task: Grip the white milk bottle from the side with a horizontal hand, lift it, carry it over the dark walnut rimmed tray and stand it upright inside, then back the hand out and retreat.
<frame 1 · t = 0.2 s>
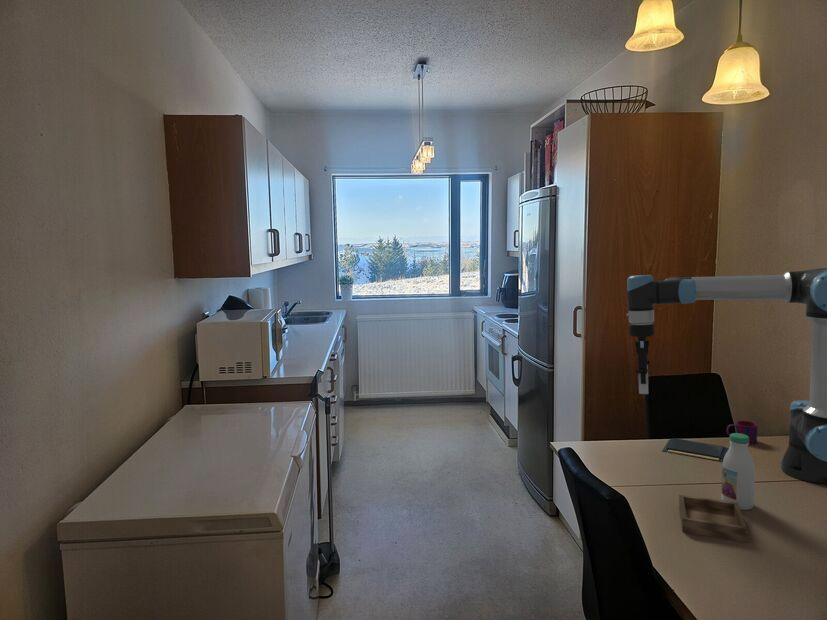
hand: (643, 388, 166), 27 cm above the table, tool pointing down, fingers open, 13 cm apart
dark grey flat slab: (695, 452, 184), on the table
milk bottle: (737, 504, 144), on the table
walnut tray: (710, 523, 135), on the table
mug: (740, 441, 191), on the table
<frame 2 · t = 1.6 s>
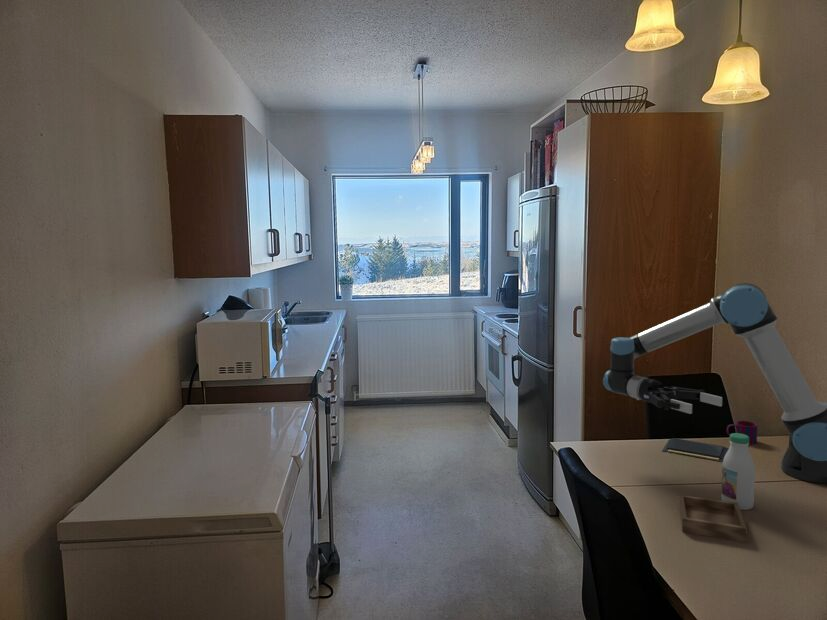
hand: (706, 405, 150), 26 cm above the table, tool horizontal, fingers open, 13 cm apart
nothing on the table moved.
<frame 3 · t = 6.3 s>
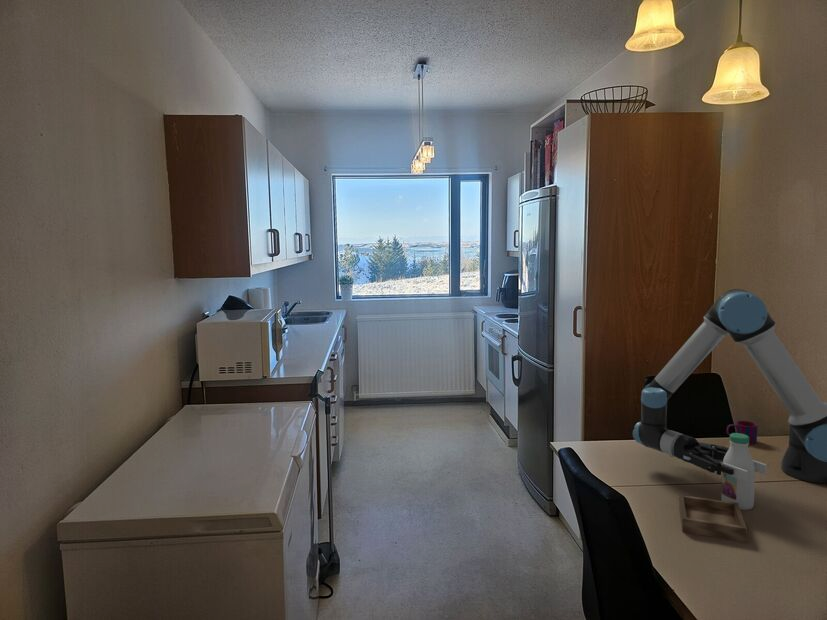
hand: (756, 472, 139), 11 cm above the table, tool horizontal, fingers closed on milk bottle, 8 cm apart
milk bottle: (737, 504, 144), on the table, touching gripper
everything else where it was.
when the fingers open (13 cm above the table, at t = 10.5 s): milk bottle drops 1 cm, resting on walnut tray.
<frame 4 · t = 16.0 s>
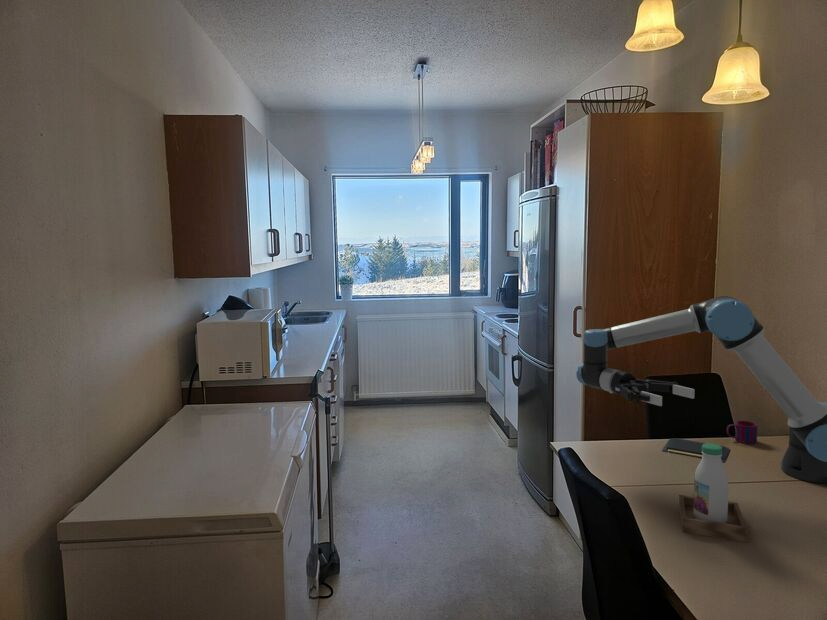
hand: (677, 397, 146), 30 cm above the table, tool horizontal, fingers open, 13 cm apart
milk bottle: (710, 520, 135), point 1 cm above the table, touching walnut tray
everything else where it was.
at the end: milk bottle 0.1 cm off-centre on the walnut tray, point 0.8 cm above the walnut tray's base; milk bottle tilted 0°; the gripper is holding nothing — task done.
